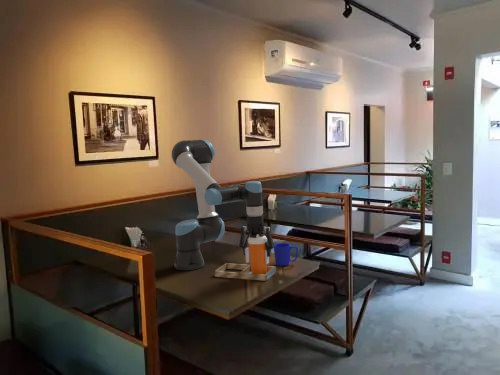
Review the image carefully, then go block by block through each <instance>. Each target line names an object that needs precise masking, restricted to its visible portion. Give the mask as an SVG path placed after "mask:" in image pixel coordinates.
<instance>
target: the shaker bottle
mask: <svg viewBox="0 0 500 375" xmlns="http://www.w3.org/2000/svg"><path fill="white" fill-rule="evenodd" d="M249 236H250V237H249V238H248V248H249V262H250V265H251V273H252V274H262V275H266V274H267V266H268V264H266V262H265V250H266V247H265V242H267V241H268V238H267V235H264V236H263V237H260V236H259V234H250V235H249Z"/></svg>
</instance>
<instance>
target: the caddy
mask: <svg viewBox="0 0 500 375" xmlns="http://www.w3.org/2000/svg"><path fill="white" fill-rule="evenodd" d="M228 269H229V270H241V271H240V272H235V271H234V272H233V271H226V270H228ZM276 272H277V265H275V266H273V265H267V274H266V275H262V274H252V273H251V264H247V263H243V264H242V263H240V264H239V263H227V262H225V263H224V264H223V265H220V266H219V267H218V268H217V269H215V270H214V271H213V277H217V278H226V279H227V278H228V279H230V278H231V279H241V280H251V281H265V282H267V281H269V279H270V278H271V277H272V276H274V274H276Z"/></svg>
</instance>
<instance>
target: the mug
mask: <svg viewBox="0 0 500 375" xmlns="http://www.w3.org/2000/svg"><path fill="white" fill-rule="evenodd" d="M292 249H296V250H295V252H296V253H295V258H294V259H291V250H292ZM273 252H274V253H273V254H274V260H275V264H276V265H275V266H279V267H286V266H288V265H289V264H290V262H292V263H293V262H296V260H298V254H299V247H298V246H291V245H290V244H289V243H286V242H285V243H284V242H279V243H275V244H274V248H273Z"/></svg>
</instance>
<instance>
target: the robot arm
mask: <svg viewBox="0 0 500 375" xmlns="http://www.w3.org/2000/svg"><path fill="white" fill-rule="evenodd" d="M172 147H173V148H172V150H171V159H172V162H173V163H174V164H175V165H176V167H177V168H179V169H182V171H184V172H185V174H187V176H188V177H189V178H190V179H191V180H192V181H193V182H194V185H195V194H196V201H197V207H198V208H197V209H198V215H197V216H196V219H195V218H191V219H186V220H182V221H180V222H178V223H177V224H176V225H175V231H174V232H175V234H174V235H175V241H176V243H175V244H176V255H175V259H174V269H175V268H176V269H175V270H178V271H192V270H197V269H201V268H203V267H204V266H205V261H204V257H203V255H202V252H201V248H200V244H205V243H208V242H215V241H217V240H220V239H221V238H222V237H223V236H224V234H225V231H226V230H225V222H224V221H223V219H222V218H221V217H219V214H218V212H216V207H215V206H218V205H223V204H228V203H235V202H245V203H246V204H245V206H246V208H245V209H246V223H247V224H246V226H245V225H243V226H241V227H240V232H241V233H240V237H239V238H240V240H239V245H238V246H239V248H242V249H243V256H244V257H245V264H248V263H249V262H250V254H249V244H248V238H249V237H250V236H249V235H250V234H259V236H260V237H263V236H266V238H267V242H265V247H266V250H265V262H266V264H267V265H268V264H269V263H270V257H271V254H272V252H271V250H272V249H274V245H275V244H274V240H273V236H272V233H271V227H270V226H265V224H264V215H263V214H264V210H263V209H264V206H263V188H262V186H263V185H262V183H261V181H259V180H250V181H245V183H244V184H231V185H229V186H221V185H220V184H219V183H218V182H217V181H216V180H215V179H214V178H213V177H212V176H211V171H210V166H211V165H212V161H213V160H214V158H215V157H214V156H215V154H216V153H215V149H214V146H213V144H212V143H211V142H210V141H209V140H207V139H190V140H185V139H183V140H181V141H180V140H179V141H178V142H176V144H174V145H173V146H172ZM247 231H248V234H247V236H246V233H247ZM264 231H265V233H264ZM245 238H246V239H245Z"/></svg>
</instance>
